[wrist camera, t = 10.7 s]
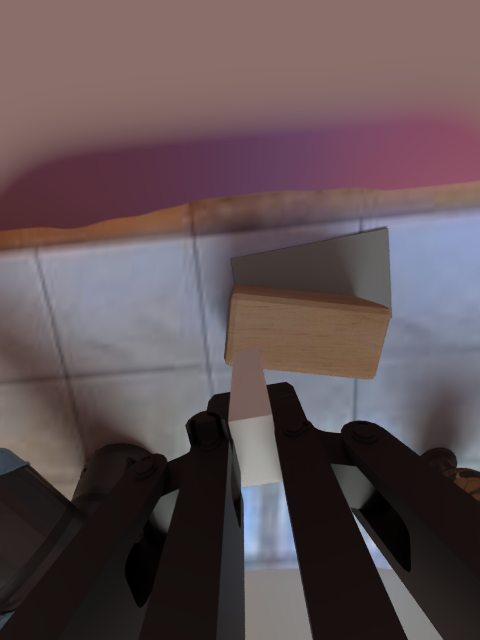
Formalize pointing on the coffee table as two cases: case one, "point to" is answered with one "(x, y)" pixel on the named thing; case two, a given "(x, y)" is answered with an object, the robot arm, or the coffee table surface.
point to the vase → (454, 470)
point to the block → (307, 330)
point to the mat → (325, 267)
